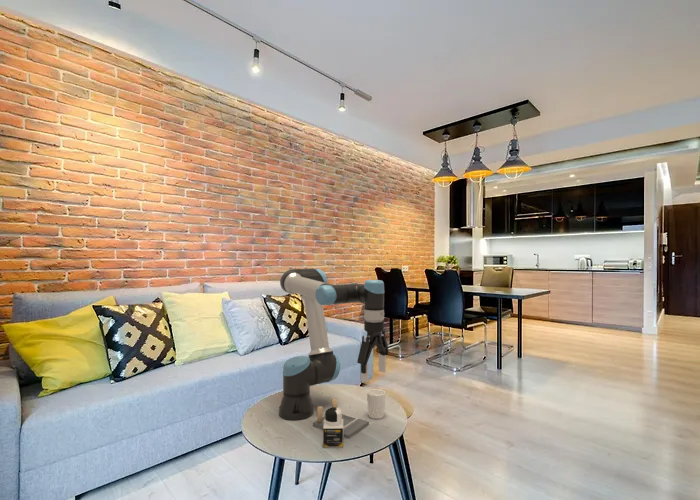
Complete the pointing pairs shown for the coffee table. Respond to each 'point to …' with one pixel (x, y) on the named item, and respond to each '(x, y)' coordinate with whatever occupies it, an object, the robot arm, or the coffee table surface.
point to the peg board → (349, 422)
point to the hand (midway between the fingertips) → (373, 376)
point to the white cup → (376, 403)
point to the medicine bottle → (333, 428)
